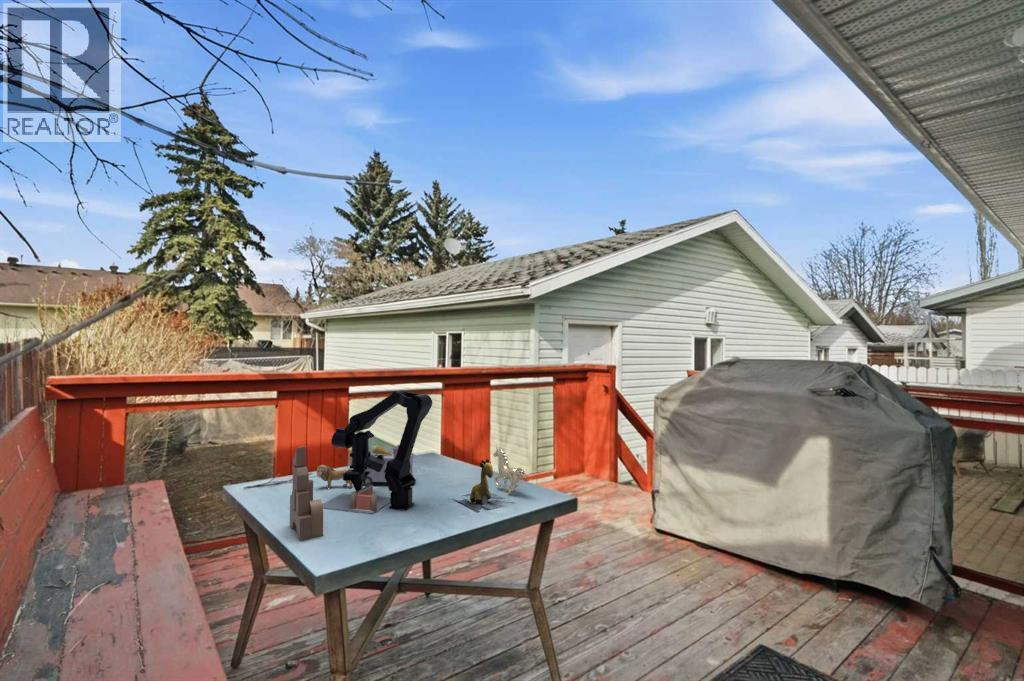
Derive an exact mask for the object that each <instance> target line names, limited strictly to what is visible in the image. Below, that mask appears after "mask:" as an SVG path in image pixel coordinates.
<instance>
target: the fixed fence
mask: <svg viewBox="0 0 1024 681" xmlns="http://www.w3.org/2000/svg"><path fill="white" fill-rule="evenodd" d="M350 494H351V509H356V508H361V509H371V511H376V510H377V497H378V496H377V493H373V494H371V496H370V495H361V494H358V495H357V492H356V491H351V492H350Z"/></svg>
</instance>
